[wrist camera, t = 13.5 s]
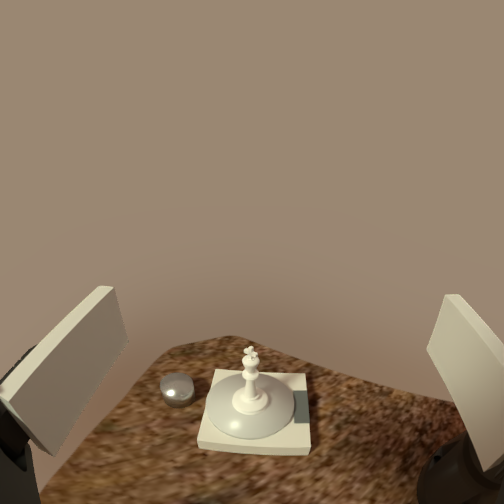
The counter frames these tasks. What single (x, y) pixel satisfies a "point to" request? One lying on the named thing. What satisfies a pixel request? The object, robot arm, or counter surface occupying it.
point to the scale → (257, 416)
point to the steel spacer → (177, 390)
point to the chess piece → (250, 387)
